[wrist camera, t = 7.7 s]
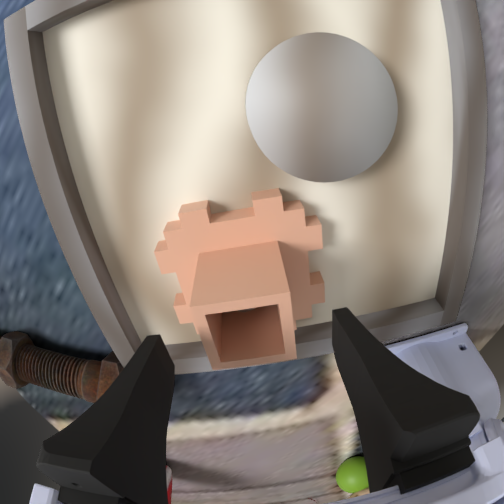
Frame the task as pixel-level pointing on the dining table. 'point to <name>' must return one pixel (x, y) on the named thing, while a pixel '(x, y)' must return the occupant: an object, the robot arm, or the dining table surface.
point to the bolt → (54, 368)
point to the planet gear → (244, 276)
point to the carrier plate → (258, 147)
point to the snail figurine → (353, 476)
